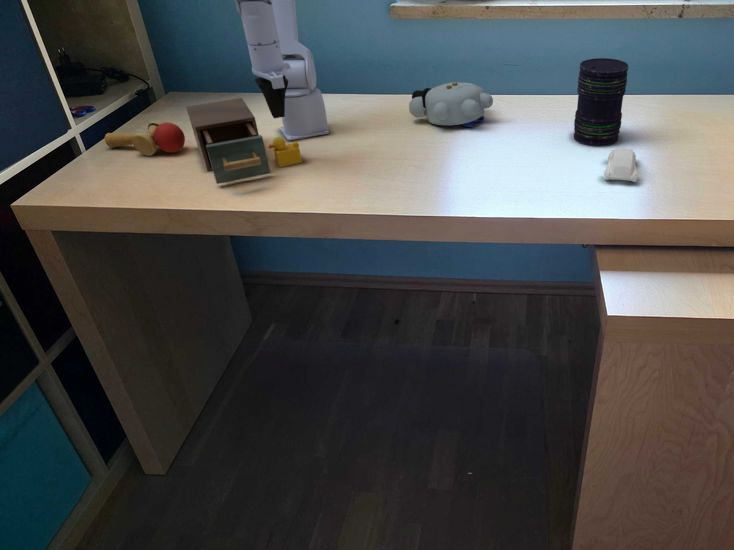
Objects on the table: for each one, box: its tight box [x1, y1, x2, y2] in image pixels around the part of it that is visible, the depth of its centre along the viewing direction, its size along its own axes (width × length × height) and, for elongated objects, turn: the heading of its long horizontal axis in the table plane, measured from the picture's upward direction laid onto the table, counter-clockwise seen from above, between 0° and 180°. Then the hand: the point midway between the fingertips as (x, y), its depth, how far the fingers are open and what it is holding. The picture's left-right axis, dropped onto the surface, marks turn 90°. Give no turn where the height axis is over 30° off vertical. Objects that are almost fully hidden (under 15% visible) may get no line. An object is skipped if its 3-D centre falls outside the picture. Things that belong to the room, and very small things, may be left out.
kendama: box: [104, 120, 186, 157], centre depth 135 cm, size 8×6×18 cm
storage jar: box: [573, 57, 629, 147], centre depth 133 cm, size 10×10×15 cm
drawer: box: [202, 122, 271, 185], centre depth 123 cm, size 17×10×7 cm, turn 26°
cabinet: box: [185, 97, 260, 172], centre depth 131 cm, size 13×11×9 cm
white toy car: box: [603, 147, 639, 183], centre depth 122 cm, size 12×6×5 cm, turn 168°
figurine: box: [408, 81, 494, 128], centre depth 146 cm, size 17×8×20 cm
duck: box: [267, 137, 303, 168], centre depth 129 cm, size 6×3×5 cm, turn 116°
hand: (278, 116), depth 124 cm, fingers closed
